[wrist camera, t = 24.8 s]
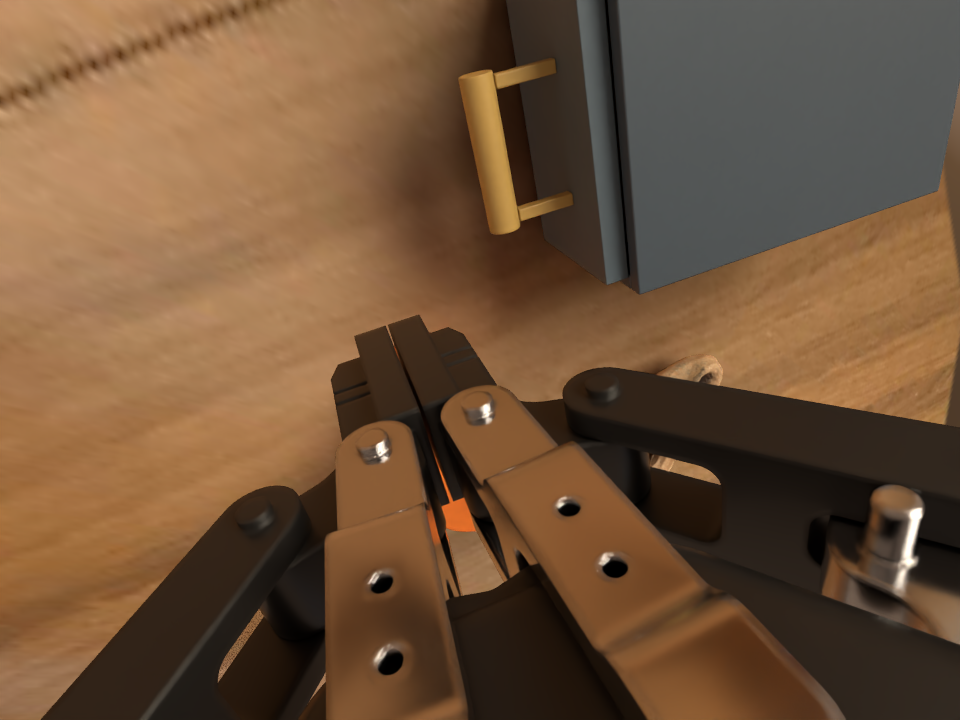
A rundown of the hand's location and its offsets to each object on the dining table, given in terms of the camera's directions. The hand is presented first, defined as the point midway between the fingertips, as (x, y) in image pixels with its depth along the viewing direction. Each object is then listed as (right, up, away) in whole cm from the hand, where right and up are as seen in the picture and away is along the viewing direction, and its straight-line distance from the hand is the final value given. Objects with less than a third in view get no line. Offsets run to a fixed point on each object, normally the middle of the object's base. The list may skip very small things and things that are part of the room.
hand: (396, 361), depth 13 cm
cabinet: (+13, +16, +21) cm, 30 cm away
